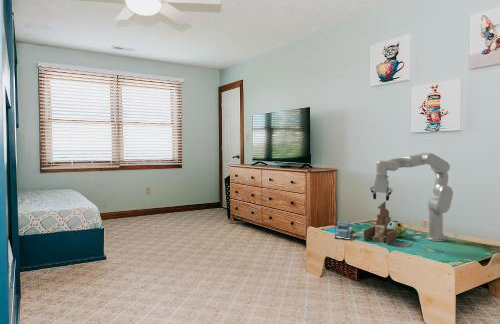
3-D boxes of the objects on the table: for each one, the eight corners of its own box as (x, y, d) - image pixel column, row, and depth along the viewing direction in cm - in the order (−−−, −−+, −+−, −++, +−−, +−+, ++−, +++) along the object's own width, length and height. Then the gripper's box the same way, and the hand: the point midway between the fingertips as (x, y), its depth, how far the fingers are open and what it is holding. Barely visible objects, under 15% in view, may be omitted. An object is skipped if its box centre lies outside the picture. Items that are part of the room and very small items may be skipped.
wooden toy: (395, 232, 297) (395, 202, 295) (391, 233, 292) (391, 203, 291) (378, 228, 308) (378, 200, 307) (374, 230, 304) (374, 200, 303)
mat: (412, 244, 262) (412, 243, 262) (407, 247, 254) (407, 246, 254) (398, 241, 269) (398, 241, 269) (393, 244, 261) (393, 244, 261)
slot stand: (396, 240, 274) (396, 229, 273) (387, 245, 261) (388, 234, 260) (373, 235, 286) (373, 226, 285) (363, 240, 273) (363, 230, 273)
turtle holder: (398, 240, 272) (398, 225, 271) (383, 234, 289) (383, 220, 289) (412, 239, 275) (412, 224, 274) (396, 233, 292) (397, 219, 292)
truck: (334, 239, 279) (334, 220, 278) (337, 230, 306) (337, 213, 305) (350, 240, 275) (350, 221, 274) (351, 231, 302) (352, 213, 302)
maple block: (384, 236, 273) (384, 226, 272) (381, 237, 269) (381, 227, 269) (377, 235, 276) (378, 225, 276) (375, 236, 272) (375, 226, 272)
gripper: (395, 177, 268) (394, 200, 269) (372, 176, 279) (372, 198, 280) (390, 178, 262) (390, 201, 263) (368, 176, 274) (367, 199, 275)
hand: (380, 199), depth 272 cm, fingers open, 9 cm apart
